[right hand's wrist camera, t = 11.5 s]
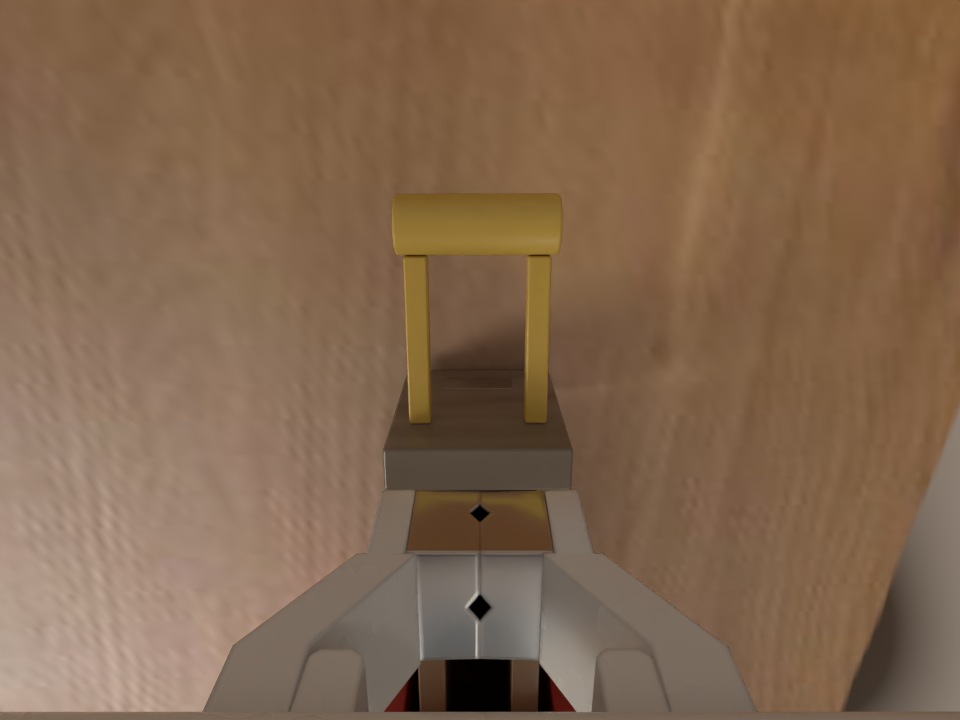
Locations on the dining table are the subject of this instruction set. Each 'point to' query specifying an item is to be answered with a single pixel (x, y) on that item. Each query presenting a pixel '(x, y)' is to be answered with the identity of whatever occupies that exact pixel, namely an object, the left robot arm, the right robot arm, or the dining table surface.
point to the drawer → (477, 404)
